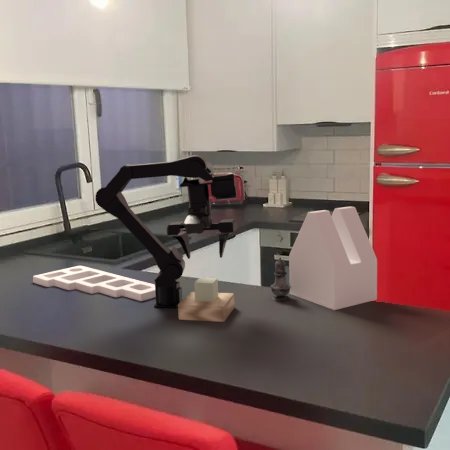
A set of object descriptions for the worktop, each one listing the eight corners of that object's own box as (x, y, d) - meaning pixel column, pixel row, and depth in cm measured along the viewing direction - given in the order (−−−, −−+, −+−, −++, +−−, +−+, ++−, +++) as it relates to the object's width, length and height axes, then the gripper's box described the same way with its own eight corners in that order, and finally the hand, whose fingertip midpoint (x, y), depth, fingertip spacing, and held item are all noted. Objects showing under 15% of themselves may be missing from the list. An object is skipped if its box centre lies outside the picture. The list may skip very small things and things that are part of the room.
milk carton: (376, 299, 173) (377, 210, 168) (334, 310, 165) (334, 216, 161) (330, 285, 189) (329, 203, 185) (289, 294, 181) (288, 208, 177)
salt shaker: (274, 302, 173) (273, 260, 171) (267, 296, 179) (266, 255, 176) (294, 300, 174) (293, 258, 172) (286, 294, 180) (286, 254, 178)
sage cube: (194, 301, 163) (194, 282, 162) (200, 295, 168) (199, 277, 167) (213, 301, 162) (212, 283, 161) (218, 296, 167) (217, 278, 166)
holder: (165, 296, 185) (164, 287, 184) (115, 310, 172) (114, 301, 172) (80, 272, 216) (80, 265, 215) (33, 284, 203) (32, 276, 203)
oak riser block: (178, 319, 161) (178, 304, 161) (192, 305, 173) (191, 291, 172) (223, 321, 158) (223, 306, 158) (234, 307, 170) (234, 293, 169)
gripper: (156, 208, 164) (163, 266, 166) (225, 204, 159) (231, 264, 162) (170, 202, 174) (176, 256, 177) (235, 198, 170) (240, 254, 172)
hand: (205, 257), depth 172 cm, fingers open, 9 cm apart
